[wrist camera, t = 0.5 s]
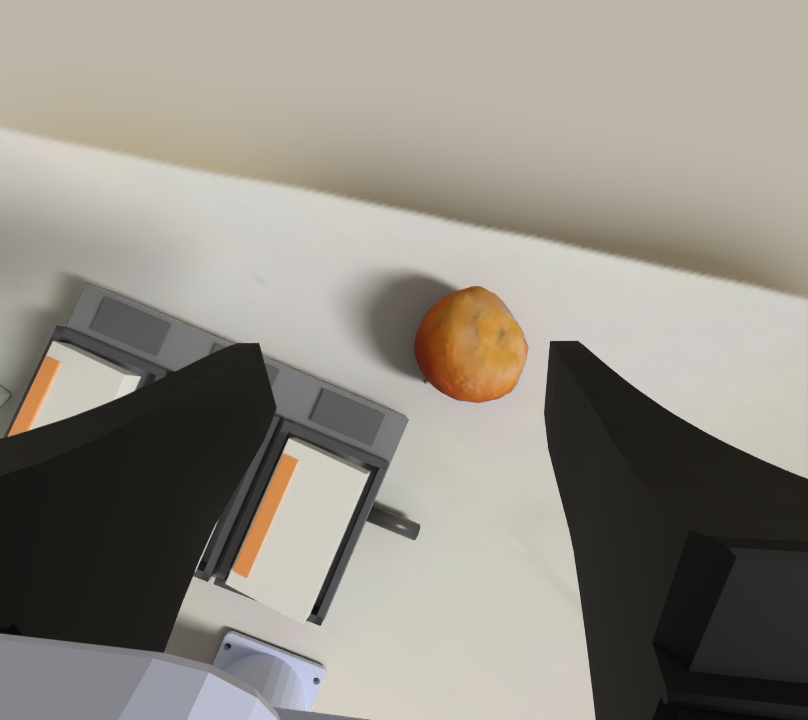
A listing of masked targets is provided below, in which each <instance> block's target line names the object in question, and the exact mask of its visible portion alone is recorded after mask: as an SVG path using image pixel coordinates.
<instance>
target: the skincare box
mask: <svg viewBox="0 0 808 720" xmlns="http://www.w3.org/2000/svg"><path fill="white" fill-rule="evenodd" d="M9 396H10V393H9V392H8V391H7V390H5V389H4V388H3V387H1V386H0V406H1V405H2V404H4V403H5V401H6V400H7V399H8V398H9Z"/></svg>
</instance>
